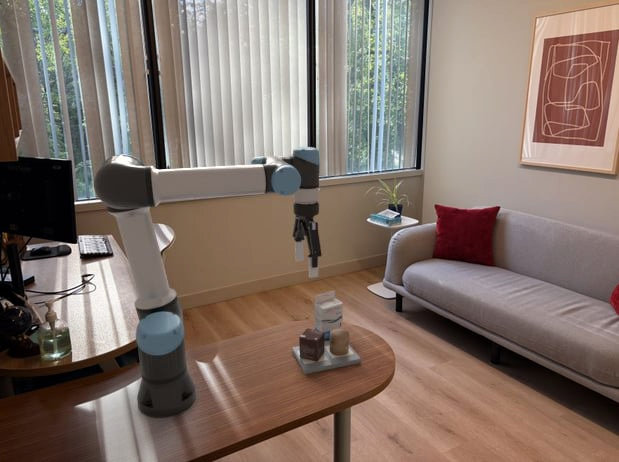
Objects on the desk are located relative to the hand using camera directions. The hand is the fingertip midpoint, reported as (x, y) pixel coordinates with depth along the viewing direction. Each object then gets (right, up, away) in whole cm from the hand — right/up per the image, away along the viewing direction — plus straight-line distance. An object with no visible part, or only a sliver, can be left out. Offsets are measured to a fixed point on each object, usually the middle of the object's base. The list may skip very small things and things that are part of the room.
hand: (306, 268), depth 141 cm
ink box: (+8, -24, +17) cm, 31 cm away
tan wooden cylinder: (+10, -26, +4) cm, 29 cm away
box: (+2, -27, +2) cm, 27 cm away
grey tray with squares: (+6, -28, +4) cm, 29 cm away
